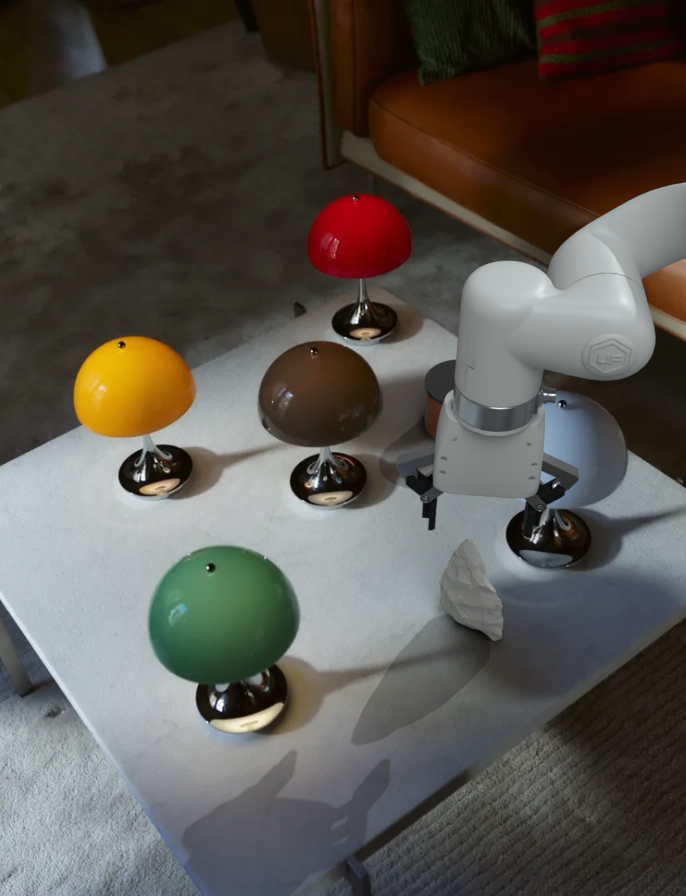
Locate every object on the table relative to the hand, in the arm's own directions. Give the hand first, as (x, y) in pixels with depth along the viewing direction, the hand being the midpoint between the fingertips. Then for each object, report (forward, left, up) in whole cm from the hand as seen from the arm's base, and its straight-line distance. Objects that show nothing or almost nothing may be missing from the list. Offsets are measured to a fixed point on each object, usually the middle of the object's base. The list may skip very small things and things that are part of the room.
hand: (479, 524), depth 97 cm
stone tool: (0, 0, -18) cm, 18 cm away
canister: (+3, -35, -18) cm, 39 cm away
